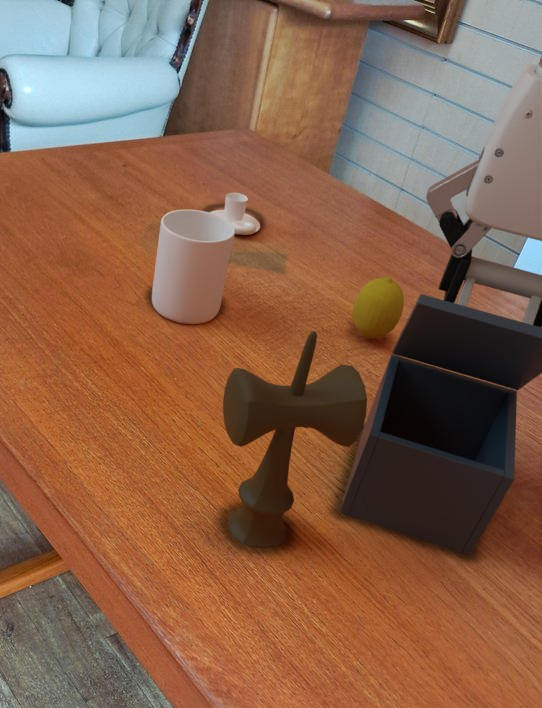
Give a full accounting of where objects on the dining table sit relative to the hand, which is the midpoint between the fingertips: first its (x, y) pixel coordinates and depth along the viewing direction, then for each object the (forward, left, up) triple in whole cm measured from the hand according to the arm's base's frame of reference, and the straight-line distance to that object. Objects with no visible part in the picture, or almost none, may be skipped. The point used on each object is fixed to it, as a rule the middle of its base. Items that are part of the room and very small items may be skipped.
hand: (491, 310), depth 62 cm
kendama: (+15, +9, -19) cm, 26 cm away
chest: (0, +1, -19) cm, 19 cm away
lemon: (0, -27, -19) cm, 33 cm away
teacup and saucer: (+18, -52, -19) cm, 58 cm away
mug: (+22, -30, -19) cm, 42 cm away
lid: (0, 0, -4) cm, 4 cm away
